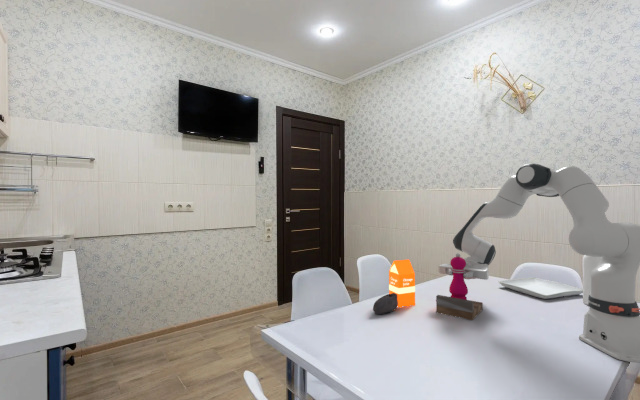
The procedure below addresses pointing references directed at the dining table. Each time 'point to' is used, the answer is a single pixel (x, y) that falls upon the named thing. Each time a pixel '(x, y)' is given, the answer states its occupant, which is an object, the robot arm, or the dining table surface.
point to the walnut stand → (458, 307)
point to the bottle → (588, 274)
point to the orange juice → (402, 282)
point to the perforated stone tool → (386, 304)
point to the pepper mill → (458, 278)
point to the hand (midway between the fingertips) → (457, 274)
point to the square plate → (541, 287)
